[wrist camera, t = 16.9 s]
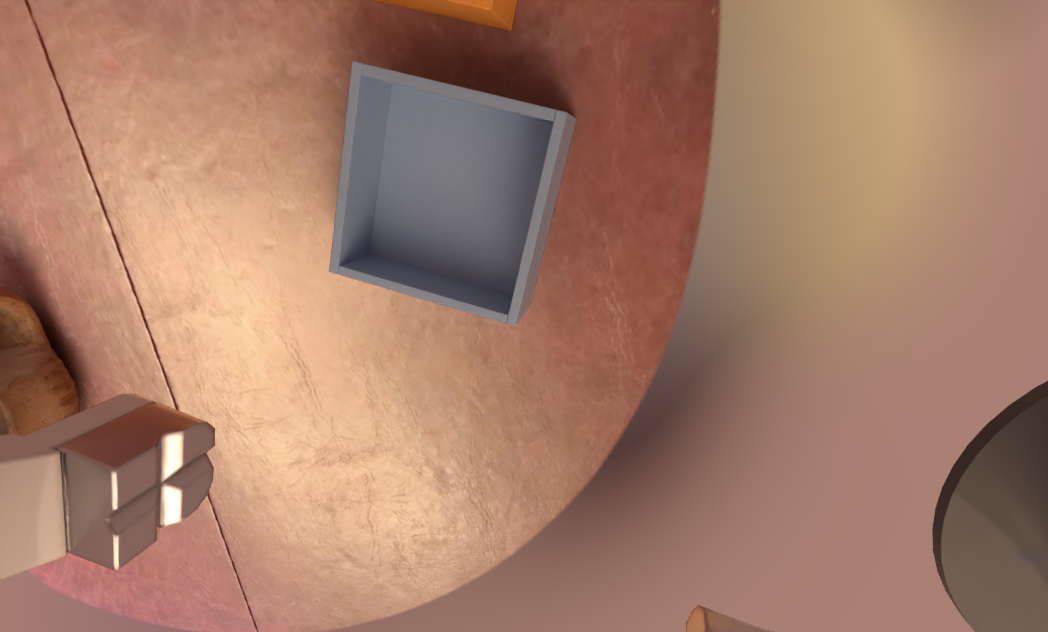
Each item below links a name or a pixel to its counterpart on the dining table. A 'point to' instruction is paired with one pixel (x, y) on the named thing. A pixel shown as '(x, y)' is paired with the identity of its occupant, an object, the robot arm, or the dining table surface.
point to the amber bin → (466, 10)
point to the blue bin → (446, 191)
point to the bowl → (30, 372)
